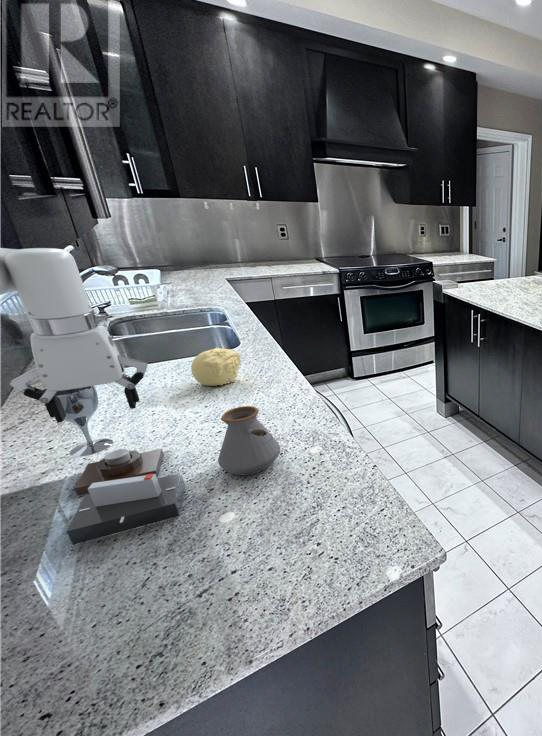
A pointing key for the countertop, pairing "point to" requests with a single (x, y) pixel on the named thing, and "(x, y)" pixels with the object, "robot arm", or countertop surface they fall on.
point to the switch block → (120, 469)
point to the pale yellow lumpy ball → (216, 366)
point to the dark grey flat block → (126, 512)
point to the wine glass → (82, 417)
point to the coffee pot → (246, 443)
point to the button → (117, 457)
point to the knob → (124, 490)
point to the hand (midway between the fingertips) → (99, 412)
